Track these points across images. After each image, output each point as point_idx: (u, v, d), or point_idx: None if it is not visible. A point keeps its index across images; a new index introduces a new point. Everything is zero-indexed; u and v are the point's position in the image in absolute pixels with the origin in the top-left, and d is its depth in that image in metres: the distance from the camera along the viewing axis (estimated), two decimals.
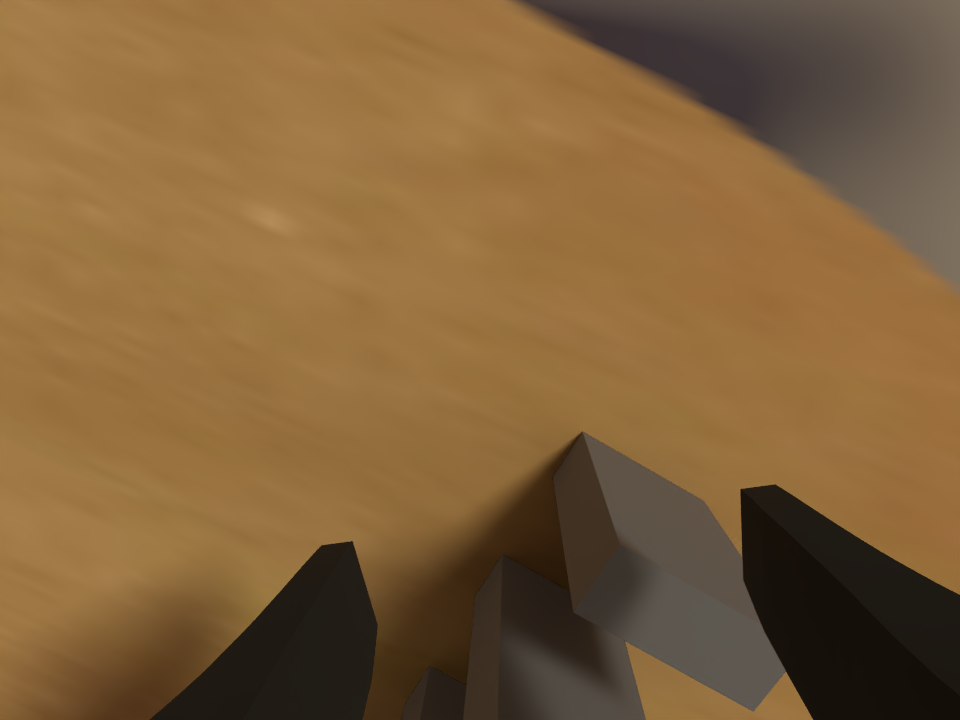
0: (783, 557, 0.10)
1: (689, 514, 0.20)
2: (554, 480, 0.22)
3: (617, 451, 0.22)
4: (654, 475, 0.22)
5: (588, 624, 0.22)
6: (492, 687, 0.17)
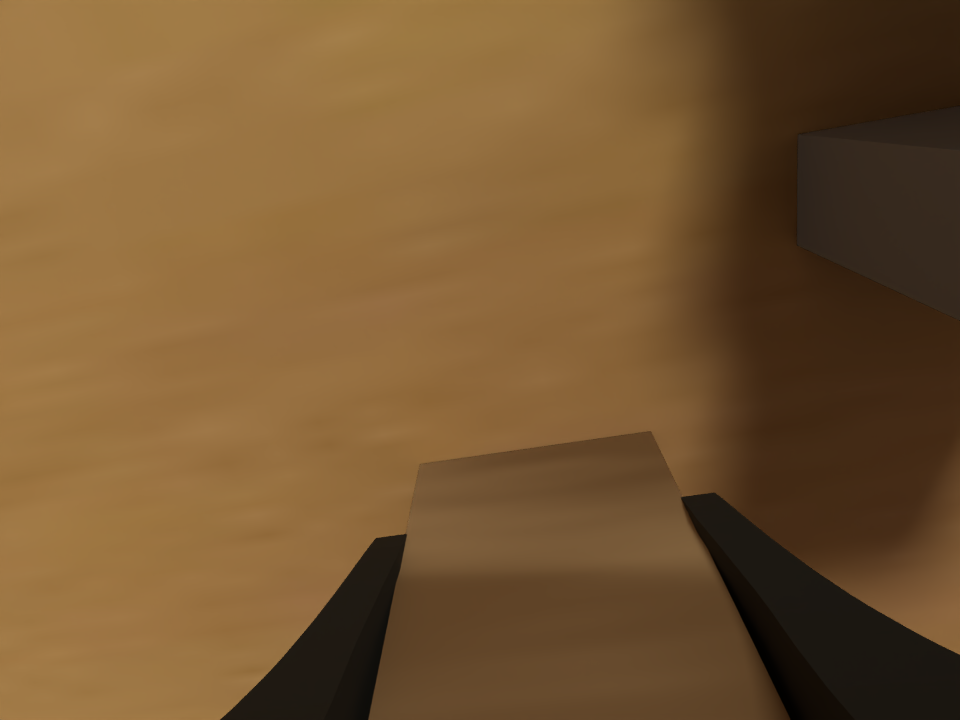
0: None
1: None
2: None
3: None
4: None
5: None
6: None
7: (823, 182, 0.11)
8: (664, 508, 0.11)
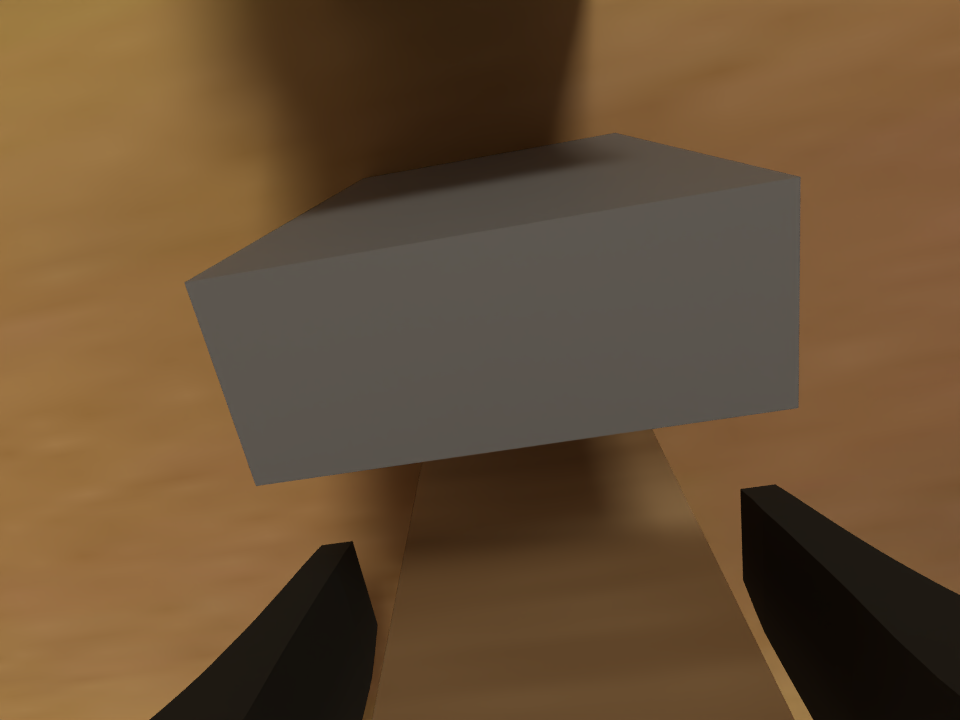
0: (783, 557, 0.10)
1: None
2: None
3: None
4: None
5: None
6: None
7: None
8: (652, 476, 0.12)
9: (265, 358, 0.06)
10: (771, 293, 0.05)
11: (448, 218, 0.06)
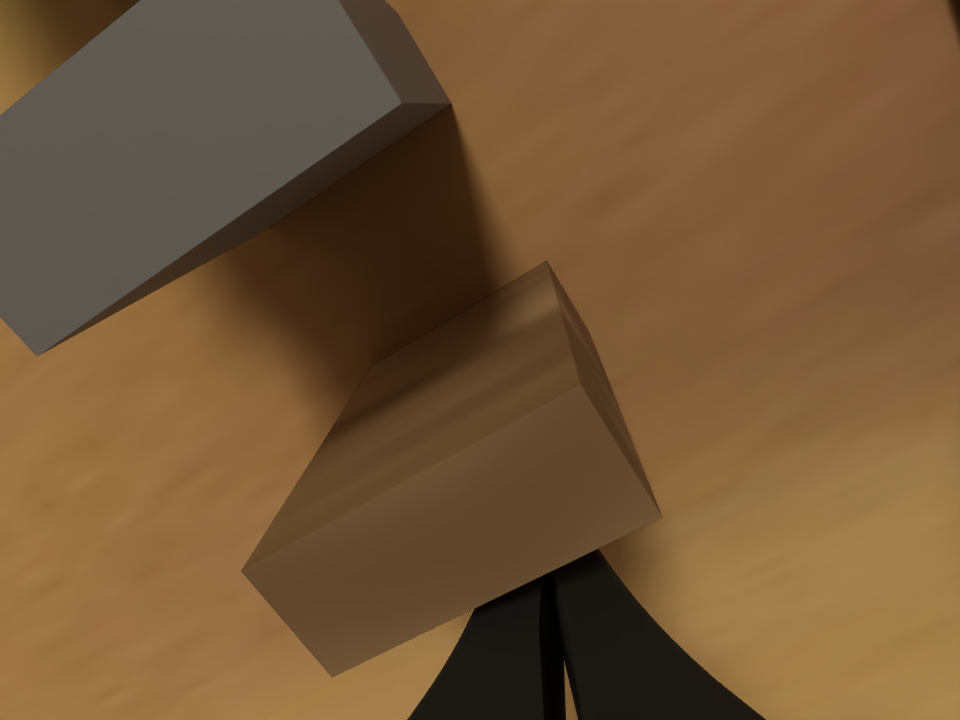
0: (554, 586, 0.10)
1: None
2: None
3: None
4: None
5: None
6: None
7: None
8: (536, 295, 0.12)
9: None
10: (314, 7, 0.06)
11: None
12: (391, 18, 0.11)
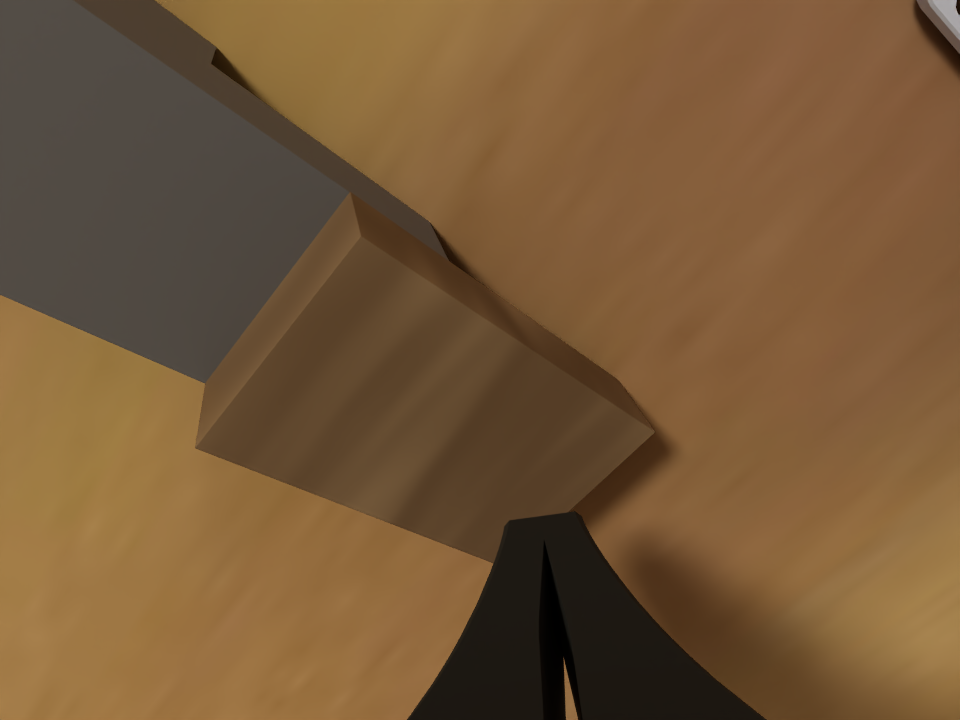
0: (554, 586, 0.10)
1: None
2: None
3: None
4: None
5: None
6: None
7: None
8: None
9: None
10: None
11: None
12: (332, 157, 0.13)
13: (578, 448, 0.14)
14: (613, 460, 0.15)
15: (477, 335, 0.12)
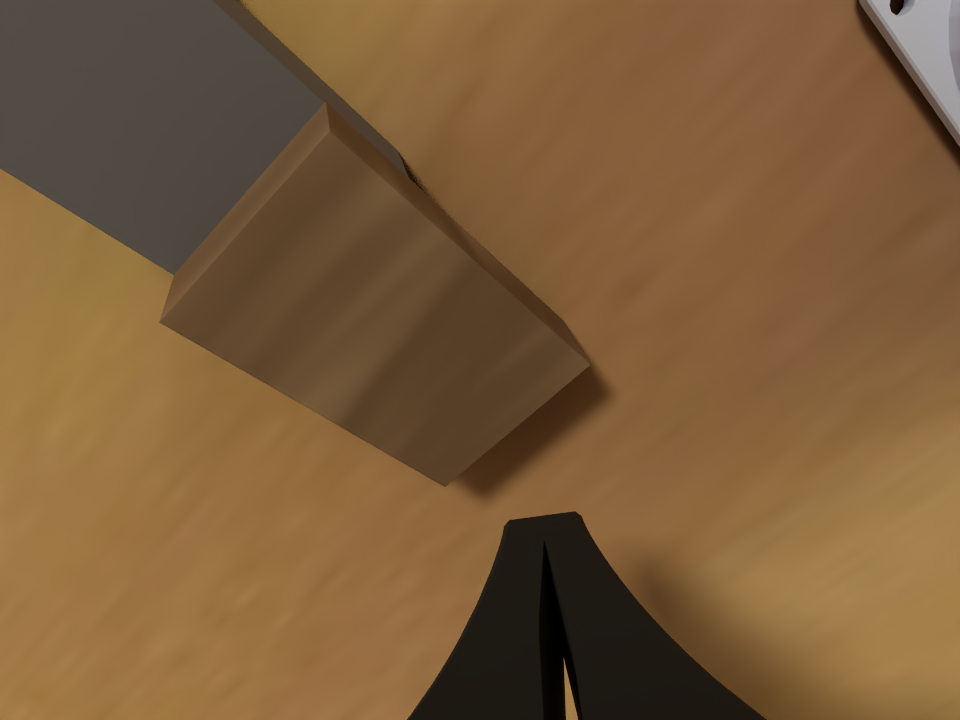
0: (554, 586, 0.10)
1: None
2: None
3: None
4: None
5: None
6: None
7: None
8: None
9: None
10: None
11: None
12: (310, 73, 0.14)
13: (518, 372, 0.15)
14: (551, 389, 0.16)
15: (430, 245, 0.13)
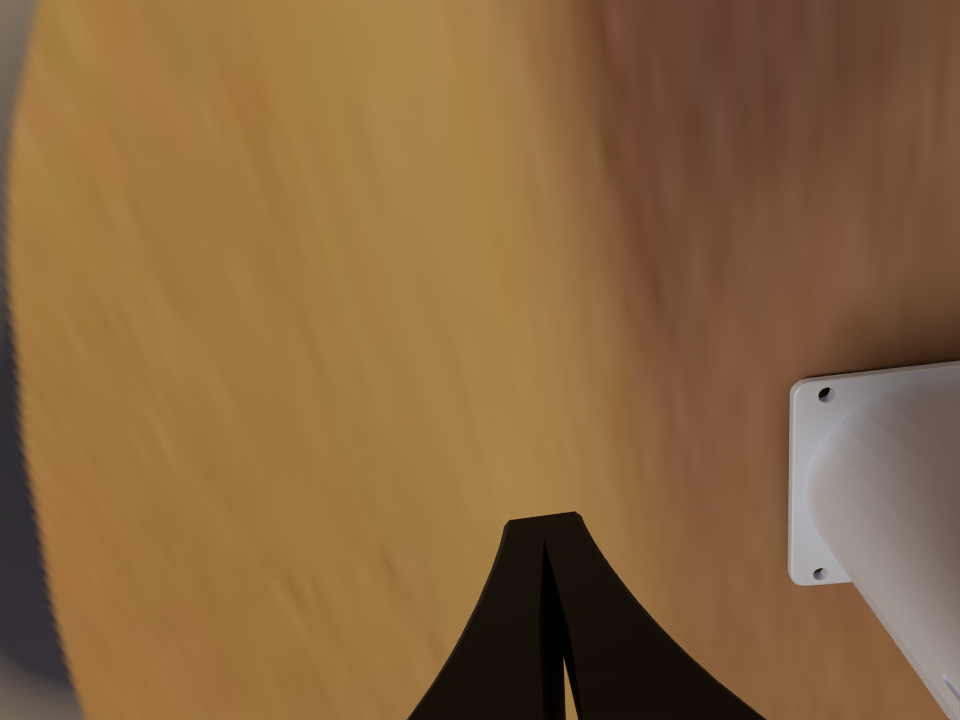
0: (554, 586, 0.10)
1: None
2: None
3: None
4: None
5: None
6: None
7: None
8: None
9: None
10: None
11: None
12: None
13: None
14: None
15: None
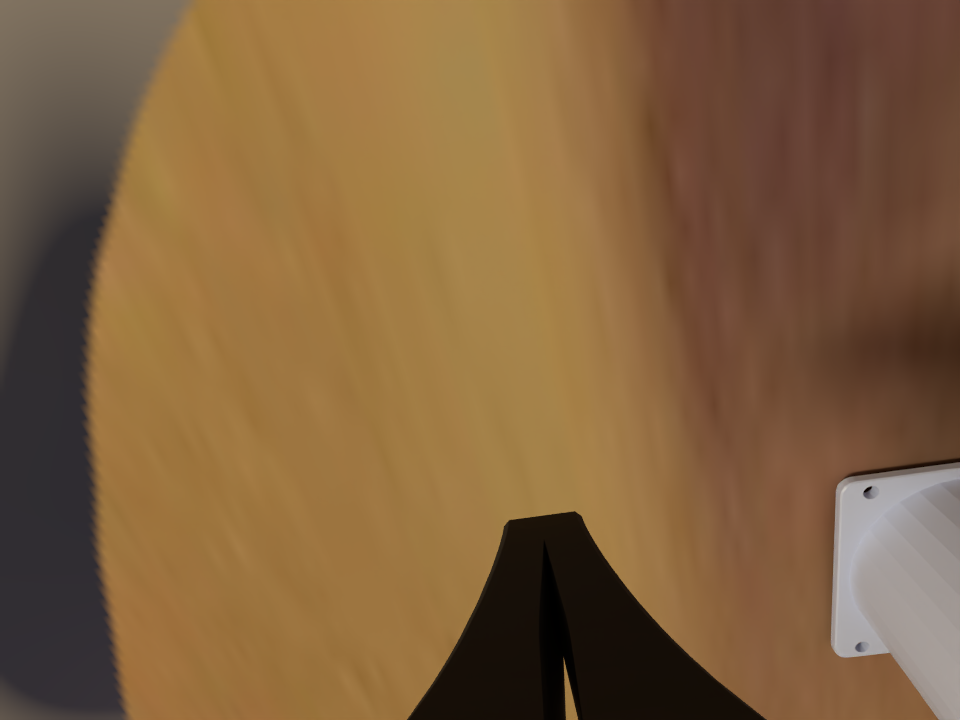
0: (554, 586, 0.10)
1: None
2: None
3: None
4: None
5: None
6: None
7: None
8: None
9: None
10: None
11: None
12: None
13: None
14: None
15: None
